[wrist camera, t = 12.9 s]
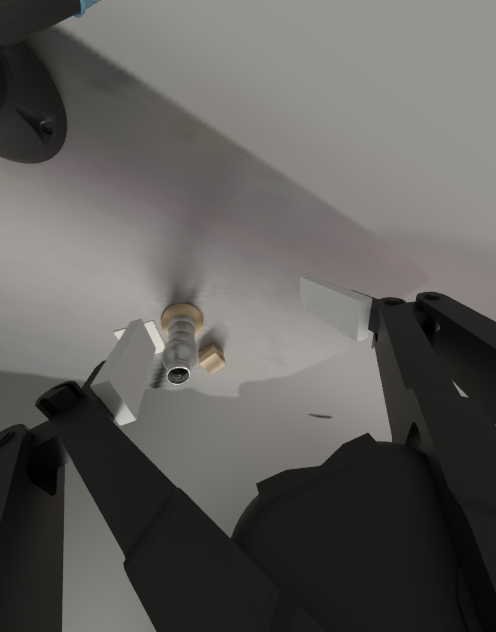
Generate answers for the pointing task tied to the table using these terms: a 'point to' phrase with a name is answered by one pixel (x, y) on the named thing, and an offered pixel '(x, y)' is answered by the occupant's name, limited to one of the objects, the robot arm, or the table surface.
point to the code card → (153, 334)
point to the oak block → (211, 358)
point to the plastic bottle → (180, 349)
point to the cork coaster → (182, 309)
